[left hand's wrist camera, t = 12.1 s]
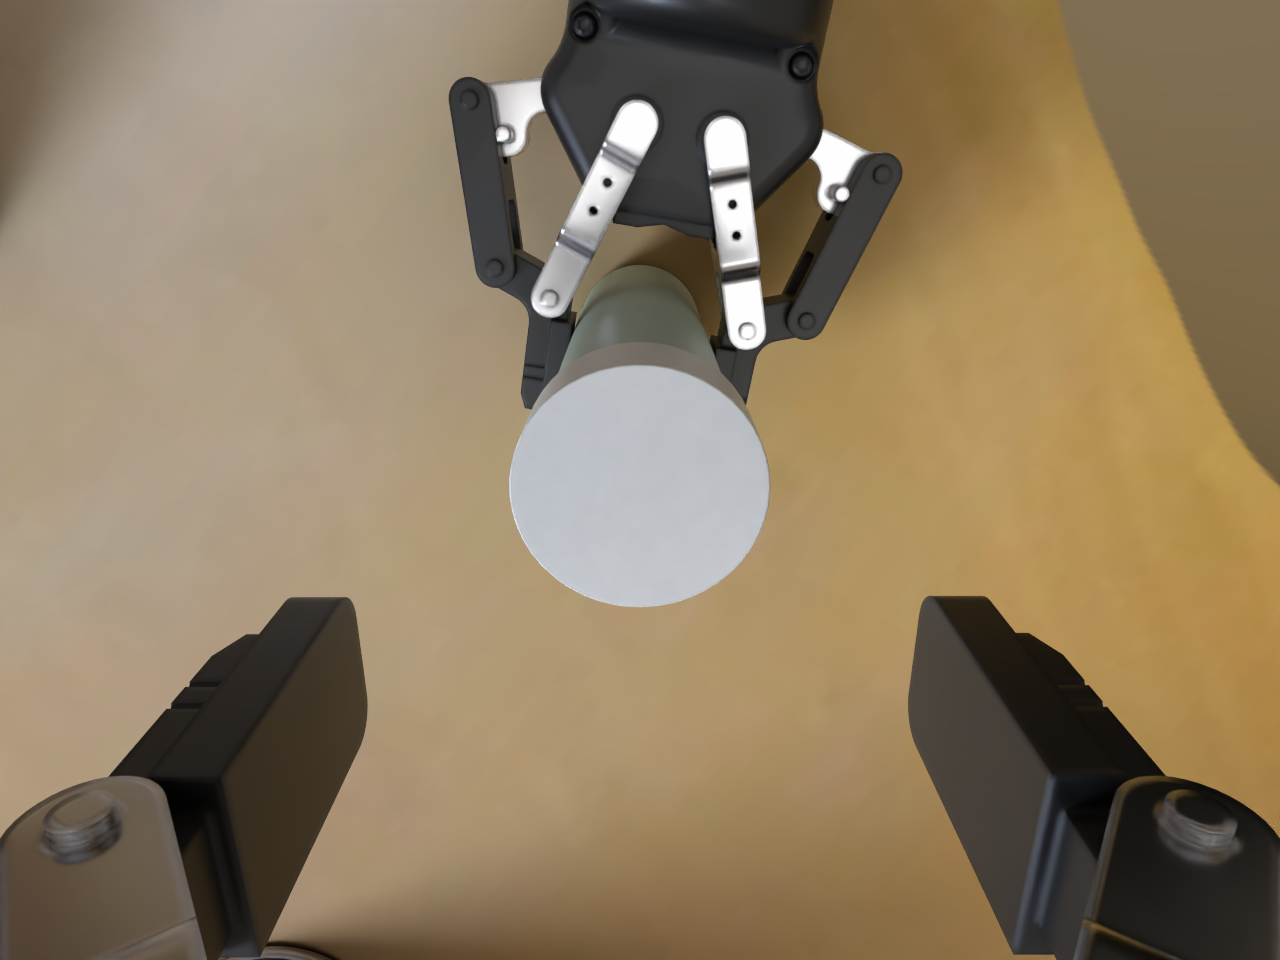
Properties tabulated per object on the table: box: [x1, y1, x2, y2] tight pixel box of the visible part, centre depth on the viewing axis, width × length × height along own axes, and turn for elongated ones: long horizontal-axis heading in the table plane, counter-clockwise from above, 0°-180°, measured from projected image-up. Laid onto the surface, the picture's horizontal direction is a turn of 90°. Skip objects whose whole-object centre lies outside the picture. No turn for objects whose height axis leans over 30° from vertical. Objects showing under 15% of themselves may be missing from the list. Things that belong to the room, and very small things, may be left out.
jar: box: [559, 265, 721, 373], centre depth 26 cm, size 5×5×18 cm
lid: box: [509, 342, 770, 607], centre depth 18 cm, size 5×5×2 cm
